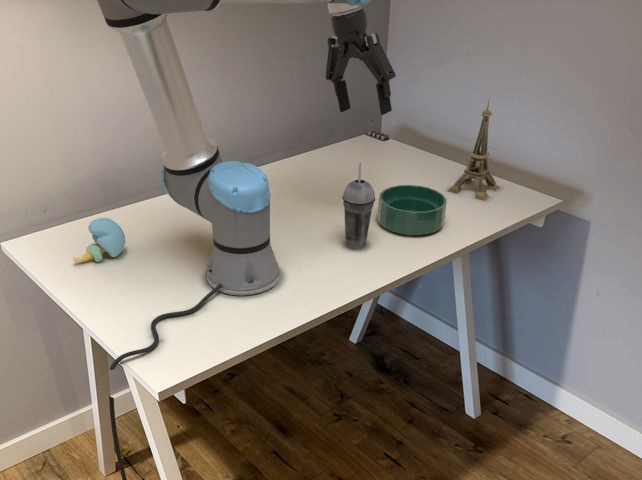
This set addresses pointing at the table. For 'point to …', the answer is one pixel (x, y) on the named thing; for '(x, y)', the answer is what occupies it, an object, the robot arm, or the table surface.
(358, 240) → the beverage cup
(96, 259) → the brain model
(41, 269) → the table surface
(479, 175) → the eiffel tower
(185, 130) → the robot arm
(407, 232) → the green pet bowl
